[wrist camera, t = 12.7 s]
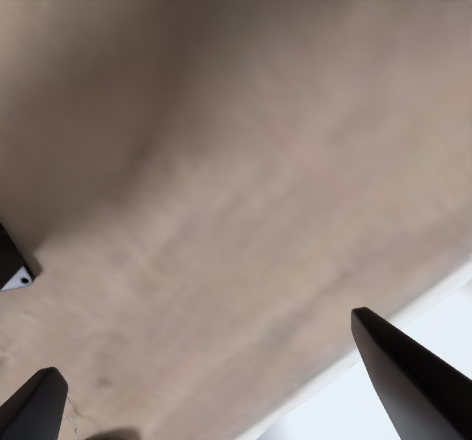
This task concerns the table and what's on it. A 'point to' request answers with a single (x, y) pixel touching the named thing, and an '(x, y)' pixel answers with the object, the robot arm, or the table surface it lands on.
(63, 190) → the table surface
